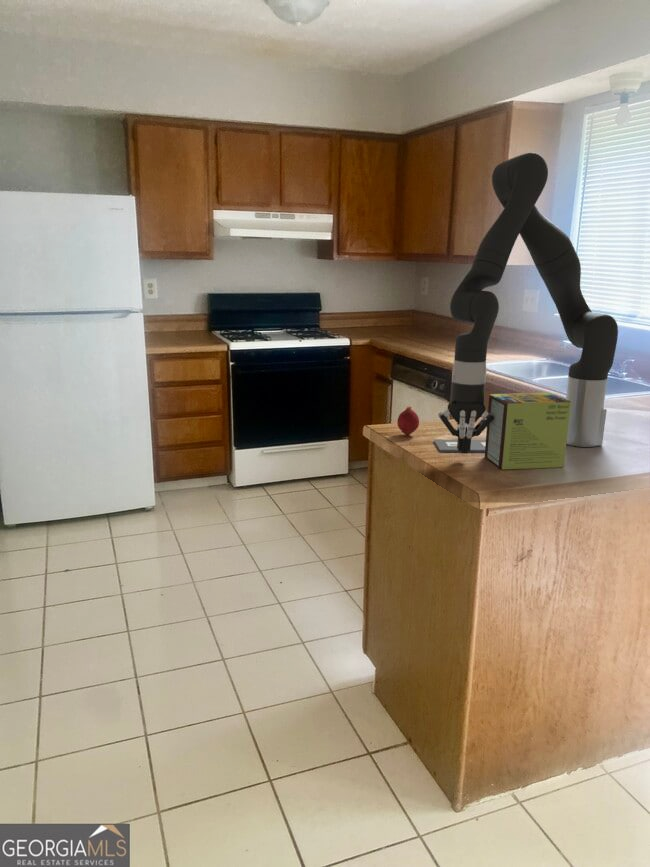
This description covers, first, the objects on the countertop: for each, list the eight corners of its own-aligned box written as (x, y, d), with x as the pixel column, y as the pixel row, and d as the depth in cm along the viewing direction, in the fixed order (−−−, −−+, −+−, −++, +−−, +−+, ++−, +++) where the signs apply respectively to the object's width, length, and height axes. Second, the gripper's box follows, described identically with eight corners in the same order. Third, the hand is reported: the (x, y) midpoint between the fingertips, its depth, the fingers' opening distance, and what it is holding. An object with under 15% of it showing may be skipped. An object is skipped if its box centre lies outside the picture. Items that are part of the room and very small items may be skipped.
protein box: (564, 467, 147) (572, 401, 142) (501, 470, 144) (507, 403, 140) (542, 454, 157) (549, 391, 152) (483, 456, 154) (488, 393, 150)
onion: (417, 438, 169) (419, 409, 166) (395, 437, 170) (397, 408, 167) (419, 433, 174) (420, 404, 172) (397, 431, 175) (399, 403, 173)
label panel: (506, 442, 166) (507, 439, 166) (517, 452, 158) (517, 449, 157) (433, 441, 166) (433, 439, 166) (440, 451, 157) (440, 449, 157)
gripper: (493, 377, 149) (487, 448, 154) (436, 376, 149) (432, 447, 154) (502, 383, 142) (495, 458, 147) (442, 382, 142) (437, 457, 147)
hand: (463, 452), depth 150 cm, fingers closed
